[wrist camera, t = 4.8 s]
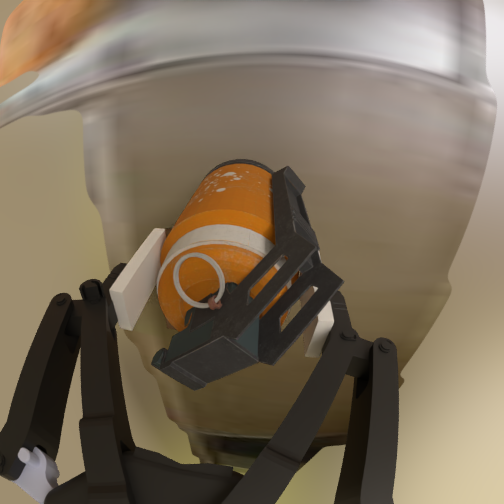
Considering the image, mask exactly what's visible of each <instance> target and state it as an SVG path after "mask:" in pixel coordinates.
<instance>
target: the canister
mask: <svg viewBox="0 0 504 504" xmlns="http://www.w3.org/2000/svg"><path fill="white" fill-rule="evenodd" d="M305 187H306V186H305V185H304V184H303V183H302V181H301V180H300V179H299V178H298V176H297V175H296V174H295V173H294V172H293V170H292V169H291V168H290V167H289V166H287V167H285V168H283V169H281V170H279V171H277V172H275V173H274V172H273V171H272V170H271V169H270V168H268V167H267V166H265V165H263V164H261V163H259V162H256V161H253V160H247V159H236V160H230V161H227V162H224V163H222V164H220V165H218V166H216V167H215V168H214V169H212V170H211V171H210V172H209V173H208V174H207V175H206V177H205V178H204V180H203V181H202V183H201V184H200V186H199V187H198V189H197V190H196V192H195V193H194V195H193V196H192V198H191V199H190V201H189V203H188V204H187V206H186V207H185V209H184V210H183V212H182V214H181V215H180V217H179V218H178V220H177V222H176V223H175V225H174V227H173V228H172V230H171V231H170V233H169V235H168V236H167V238H166V240H165V241H164V244H163V247H162V249H161V255H160V265H161V269H160V271H159V274H158V277H157V285H156V286H157V295H158V299H159V303H160V307H161V309H162V311H163V313H164V315H165V317H166V318H167V320H168V321H169V322H170V324H171V325H172V326H173V327H174V328H175V329H176V330H178V331H179V333H177V334H175V335H174V336H173V337H172V340H171V343H170V346H169V349H168V350H167V349H165V348H162V349H160V350H159V351H158V352H157V353H156V354H155V356H154V357H153V360H152V363H151V365H152V366H154V367H155V368H157V369H159V370H160V371H162V372H163V373H165V374H167V375H168V376H170V377H171V378H173V379H175V380H176V381H178V382H180V383H181V384H184V385H185V386H187V387H189V388H191V389H192V390H194V391H195V390H198V389H201V388H204V387H205V386H206V385H207V384H208V383H210V382H213V381H216V380H218V379H221V378H223V377H226V376H228V375H231V374H233V373H235V372H238V371H240V370H243V369H245V368H247V367H250V366H252V365H254V364H257V363H259V362H261V363H265V364H268V365H272V366H274V364H275V363H276V362H277V361H278V360H279V359H280V358H281V357H282V356H283V354H284V353H285V352H286V351H287V350H288V349H289V348H290V347H291V346H292V344H293V343H294V342H295V341H296V340H297V339H298V338H299V336H300V335H301V334H302V333H303V332H304V331H305V330H306V328H307V327H308V326H309V325H310V324H311V322H312V321H313V320H314V319H315V318H316V317H317V315H318V314H319V313H320V312H321V310H322V309H323V308H324V307H325V306H326V304H327V303H328V302H329V301H330V299H331V298H332V297H333V296H334V294H335V293H336V292H337V291H338V289H339V288H340V287H341V285H342V284H343V283H344V281H343V280H342V279H341V278H340V277H338V276H337V275H336V274H335V273H334V272H332V271H331V270H330V269H329V268H327V267H326V266H325V265H324V264H322V263H321V259H320V256H319V252H318V251H319V250H320V248H319V246H318V245H319V244H318V242H317V239H316V235H315V232H314V231H313V229H312V228H311V224H310V221H309V218H308V215H307V211H306V208H305V205H304V202H303V199H302V195H301V194H302V192H303V190H304V189H305ZM299 271H300V272H301V273H302V274H301V276H300V277H299ZM298 277H299V278H298ZM311 286H314V287H317V288H318V289H317V290H316V291H315V293H314V294H313V295H312V296H311V298H310V299H309V300H308V301H307V302H306V304H305V305H304V306H303V307H302V309H301V310H300V311H299V312H298V313H297V315H296V316H295V317H294V318H293V319H292V321H291V322H290V323H289V324H288V325H287V326H286V328H285V329H284V330H283V331H282V332H281V326H282V324H283V323H284V321H285V320H286V318H287V317H288V315H289V313H290V310H291V307H292V306H293V305H294V304H295V303H296V302H297V301H298V300H299V298H300V297H301V296H302V295H303V294H304V293H305V292H306V291H307V290H308V289H309V288H310V287H311Z"/></svg>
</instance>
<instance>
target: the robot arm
mask: <svg viewBox="0 0 504 504" xmlns="http://www.w3.org/2000/svg"><path fill="white" fill-rule="evenodd" d="M165 240H166V234H165V229H160V228H154V229H153V231H152V232H151V233H150V235H149V236H148V237H147V238H146V240H145V241H144V242H143V244H142V245H141V246H140V248H139V249H138V250H137V252H136V253H135V254H134V256H133V257H132V258H131V260H130V261H129V263H128V264H125V263H120V264H119V265H117V266H116V267H114V269H113V270H112V271H111V274H109V275H108V277H107V278H106V279H105V281H104V282H103V283H102V282H100V280H97V279H90V280H87V281H85V282H84V283H82V284H81V285H80V288H79V290H80V293H81V296H82V298H83V300H72V299H71V296H70V295H69V294H67V293H60V294H58V295H56V296H55V297H53V299H52V300H51V302H50V304H49V306H48V308H47V310H46V312H45V315H44V317H43V319H42V321H41V323H40V326H39V328H38V330H37V333H36V335H35V337H34V340H33V342H32V345H31V347H30V350H29V352H28V355H27V357H26V360H25V363H24V366H23V369H22V371H21V374H20V377H19V380H18V383H17V387H16V390H15V393H14V396H13V400H12V403H11V407H10V411H9V415H8V419H7V422H6V424H5V425H4V427H3V429H2V431H1V432H0V476H2V477H4V478H6V479H8V480H10V481H12V482H14V483H16V484H17V485H18V486H19V487H20V488H22V489H23V490H24V491H25V492H26V493H28V494H29V495H30V496H31V497H32V498H34V499H35V500H36V501H37V502H39V503H40V504H275V503H276V502H277V500H278V499H279V497H280V496H281V494H282V493H283V491H284V490H285V488H286V487H287V485H288V484H289V482H290V480H291V479H292V477H293V476H294V474H295V473H296V471H297V469H298V468H299V465H300V462H301V460H302V458H303V456H304V455H305V453H306V451H307V449H308V448H309V446H310V444H311V442H312V441H313V439H314V437H315V435H316V433H317V431H318V430H319V428H320V426H321V424H322V422H323V420H324V418H325V416H326V414H327V412H328V410H329V408H330V406H331V404H332V402H333V400H334V398H335V396H336V393H337V391H338V389H339V387H340V385H341V382H342V380H343V378H344V376H345V374H347V375H350V376H353V377H354V388H353V397H352V406H351V414H350V421H349V428H348V434H347V441H346V447H345V452H344V458H343V463H342V468H341V473H340V478H339V482H338V487H337V491H336V495H335V501H334V504H394V503H393V498H392V494H393V487H394V479H395V469H396V459H397V445H398V422H399V388H398V363H397V349H396V346H395V344H394V343H393V342H392V341H391V340H389V339H387V338H378V339H376V340H375V341H374V343H373V342H370V341H367V340H364V339H362V338H360V337H359V335H358V333H357V332H356V331H355V330H354V329H353V328H352V326H351V322H350V318H349V314H348V311H347V307H346V305H345V304H346V303H345V299H344V297H343V295H342V294H341V293H340V291H337V292H336V293H335V294H334V296H333V297H332V298H331V299H330V301H329V302H328V303H327V304H326V306H325V307H324V308H323V309H322V310H321V312H320V313H319V314H318V315H317V317H316V318H315V319H314V320H313V321H312V322H311V324H310V325H309V326H308V327H307V328H306V330H305V331H304V332H303V338H304V353H305V357H319V356H320V354H321V352H322V356H321V358H320V360H319V362H318V364H317V365H316V367H315V369H314V371H313V373H312V374H311V376H310V378H309V380H308V381H307V383H306V385H305V387H304V388H303V390H302V392H301V393H300V395H299V397H298V398H297V400H296V402H295V403H294V405H293V407H292V408H291V410H290V411H289V413H288V414H287V416H286V418H285V419H284V421H283V422H282V424H281V425H280V427H279V428H278V430H277V431H276V433H275V434H274V436H273V437H272V439H271V440H270V442H269V443H268V445H267V446H266V447H265V448H264V449H263V451H262V452H261V453H260V455H259V456H258V458H257V459H256V460H255V462H254V463H253V464H252V466H251V467H250V468H249V470H248V471H247V472H246V474H245V475H242V474H240V473H238V472H235V471H233V467H230V466H222V465H215V464H209V463H206V464H180V463H178V462H175V461H173V460H172V459H169V458H167V457H165V456H163V455H162V454H160V453H157V452H153V451H150V450H146V449H143V448H139V447H136V446H135V443H134V441H133V439H132V435H131V430H130V426H129V421H128V416H127V411H126V405H125V399H124V393H123V387H122V381H121V373H120V364H119V355H118V345H117V334H116V329H115V325H116V323H117V322H118V323H119V326H120V328H122V329H126V330H130V331H132V330H133V328H134V326H135V324H136V322H137V320H138V318H139V316H140V314H141V312H142V310H143V308H144V306H145V304H146V302H147V301H148V299H149V297H150V295H151V293H152V291H153V289H154V287H155V285H156V284H157V277H158V274H159V271H160V269H161V265H160V255H161V249H162V247H163V244H164V241H165ZM318 252H319V251H318ZM319 256H320V254H319ZM320 259H321V258H320ZM321 263H322V262H321ZM301 274H302V273H301V272H300V276H301ZM300 276H299V277H300ZM317 289H318V288H317V287H314V286H311V287H310V288H309V289H308V290H307V291H306V292H305V293H304V294H303V295H302V296H301V297H300V301H301V309H302V307H303V306H304V305H305V304H306V302H307V301H308V300H309V299H310V298H311V296H312V295H313V294H314V293H315V291H316V290H317ZM80 347H81V395H82V409H83V418H82V419H80V421H79V431H80V439H81V446H82V453H83V460H84V466H85V472H83V473H81V474H80V475H78V476H76V477H74V478H72V479H71V480H69V481H67V482H65V483H63V484H61V485H59V486H58V483H57V478H58V477H59V471H58V469H57V465H56V463H55V460H56V456H57V453H58V449H59V444H60V437H61V431H62V425H63V419H64V413H65V408H66V403H67V398H68V394H69V389H70V385H71V381H72V376H73V372H74V369H75V365H76V361H77V357H78V354H79V350H80Z"/></svg>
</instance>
